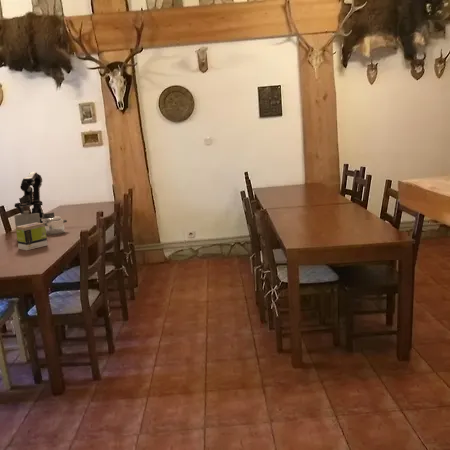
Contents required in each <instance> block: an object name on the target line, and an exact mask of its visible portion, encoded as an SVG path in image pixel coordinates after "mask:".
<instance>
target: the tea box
mask: <svg viewBox="0 0 450 450" xmlns="http://www.w3.org/2000/svg"><path fill="white" fill-rule="evenodd" d="M15 232H16V233H17V234H16V239H17V240H18V241H17V245H18V246H17V247H18V249H19V250H21V251H22V250H23V251H30V250H34V249H37V248H42V247H46V246H48V245H49V244H48V235H47V234H46V229H45V224H44V222H43V223H37V222H36V223H31V224H26V225H21V226H17V227H16V226H15Z"/></svg>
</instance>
